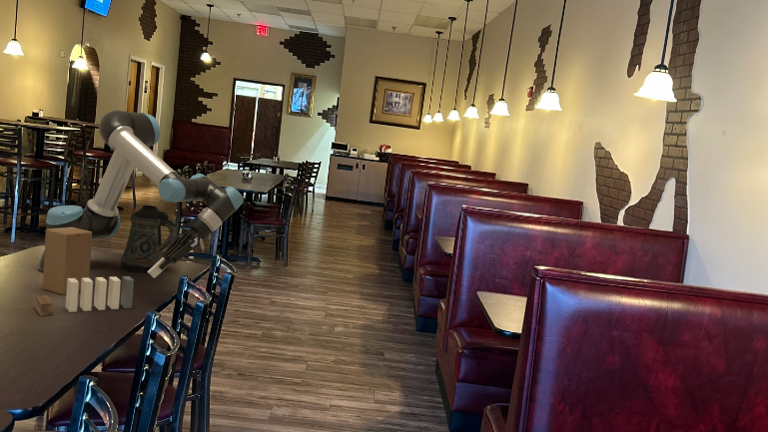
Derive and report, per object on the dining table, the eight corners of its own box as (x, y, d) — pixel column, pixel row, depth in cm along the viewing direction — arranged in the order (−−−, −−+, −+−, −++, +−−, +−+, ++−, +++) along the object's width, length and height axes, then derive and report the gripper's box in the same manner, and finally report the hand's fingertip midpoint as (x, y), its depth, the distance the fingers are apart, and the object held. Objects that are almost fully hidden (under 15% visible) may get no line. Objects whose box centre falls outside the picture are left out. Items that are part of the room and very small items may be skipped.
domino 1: (72, 307, 197) (74, 278, 196) (76, 311, 193) (78, 282, 192) (65, 307, 195) (67, 278, 194) (69, 312, 191) (71, 282, 190)
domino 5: (126, 303, 207) (129, 276, 206) (131, 308, 203) (133, 280, 202) (120, 304, 205) (122, 276, 204) (125, 308, 201) (127, 280, 200)
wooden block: (88, 290, 216) (92, 231, 214) (62, 295, 207) (66, 233, 205) (68, 284, 221) (71, 226, 218) (41, 289, 211) (45, 228, 209)
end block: (45, 306, 194) (46, 295, 193) (52, 315, 187) (53, 303, 186) (34, 307, 192) (35, 295, 192) (40, 315, 185) (41, 303, 185)
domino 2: (86, 306, 199) (88, 277, 198) (91, 310, 195) (93, 281, 194) (79, 306, 198) (81, 277, 197) (84, 311, 194) (85, 281, 193)
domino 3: (100, 305, 202) (102, 277, 201) (104, 309, 198) (107, 281, 197) (93, 305, 200) (95, 277, 199) (98, 310, 196) (100, 281, 195)
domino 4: (113, 304, 204) (115, 276, 203) (118, 308, 200) (120, 280, 199) (107, 304, 203) (109, 276, 202) (111, 309, 199) (113, 280, 198)
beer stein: (119, 263, 260) (123, 201, 257) (169, 264, 268) (174, 205, 265) (120, 272, 245) (125, 207, 242) (174, 273, 253) (179, 210, 250)
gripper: (190, 213, 219) (136, 262, 210) (205, 219, 209) (150, 271, 200) (203, 228, 223) (151, 278, 214) (219, 235, 213) (165, 287, 204)
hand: (150, 275), depth 207 cm, fingers closed
